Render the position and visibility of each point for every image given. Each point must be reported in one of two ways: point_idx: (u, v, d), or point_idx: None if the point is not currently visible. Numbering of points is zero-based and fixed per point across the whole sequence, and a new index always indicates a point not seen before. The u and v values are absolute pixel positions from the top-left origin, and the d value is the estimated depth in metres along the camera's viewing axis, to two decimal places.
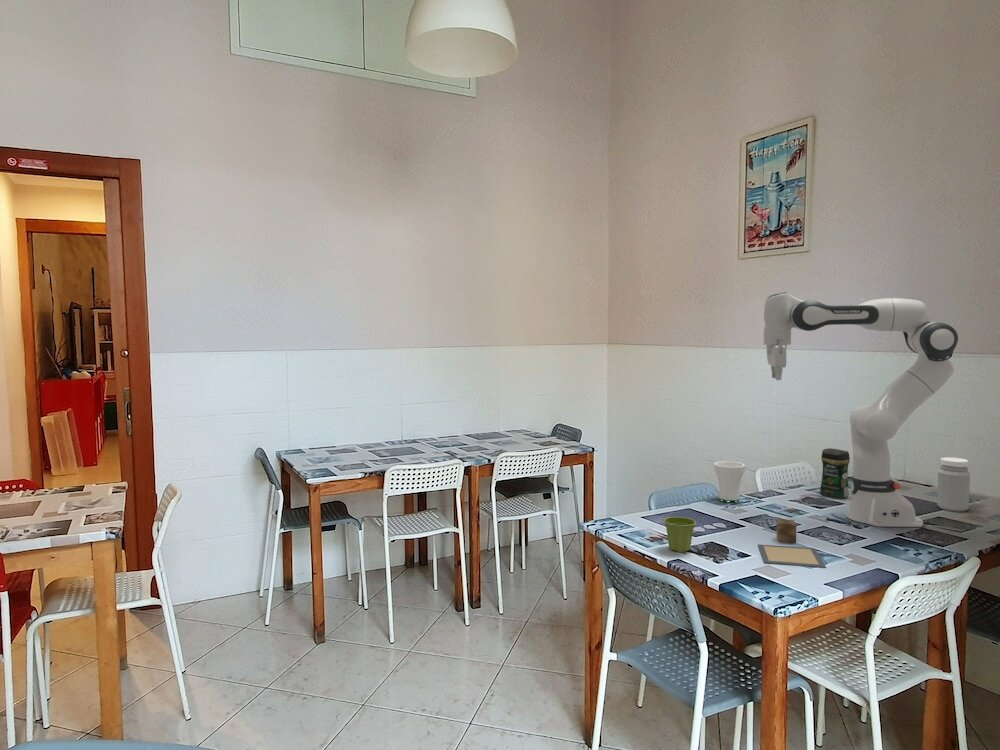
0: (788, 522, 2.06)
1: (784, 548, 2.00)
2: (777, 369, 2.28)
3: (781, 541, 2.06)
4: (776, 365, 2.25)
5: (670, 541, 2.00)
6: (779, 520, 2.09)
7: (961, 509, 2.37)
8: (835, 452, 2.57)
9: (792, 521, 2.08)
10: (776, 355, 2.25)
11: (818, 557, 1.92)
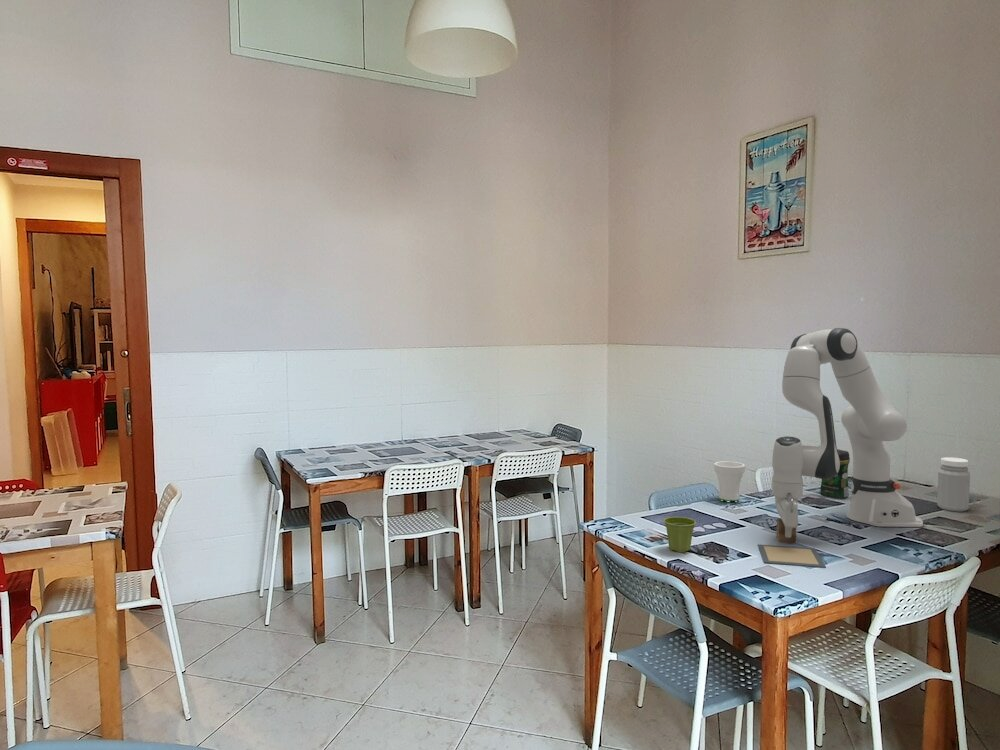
0: None
1: (784, 548, 2.00)
2: None
3: (781, 541, 2.06)
4: (786, 525, 1.99)
5: (670, 541, 2.00)
6: (779, 520, 2.09)
7: (961, 509, 2.37)
8: None
9: None
10: (786, 514, 1.98)
11: (818, 557, 1.92)
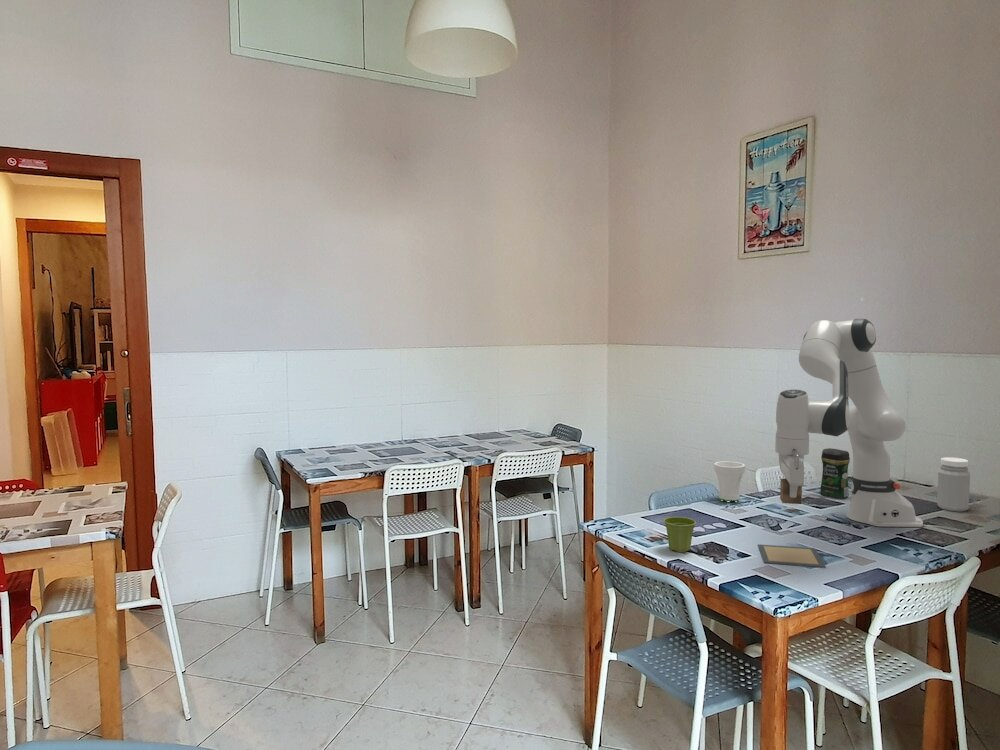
0: None
1: (784, 548, 2.00)
2: (791, 485, 1.88)
3: (785, 501, 1.91)
4: (791, 483, 1.83)
5: (670, 541, 2.00)
6: (783, 479, 1.94)
7: (961, 509, 2.37)
8: (835, 452, 2.57)
9: None
10: (791, 471, 1.83)
11: (818, 557, 1.92)
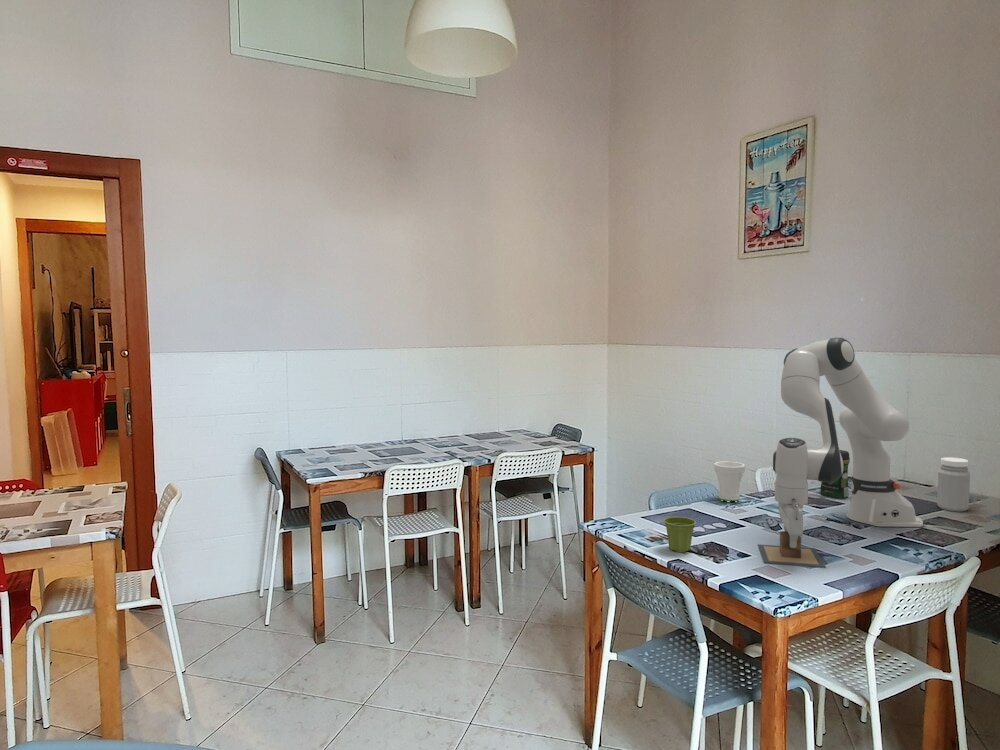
0: None
1: None
2: (791, 535, 1.88)
3: (785, 555, 1.92)
4: (791, 533, 1.84)
5: (670, 541, 2.00)
6: (782, 533, 1.95)
7: (961, 509, 2.37)
8: None
9: None
10: (791, 521, 1.84)
11: (818, 557, 1.92)
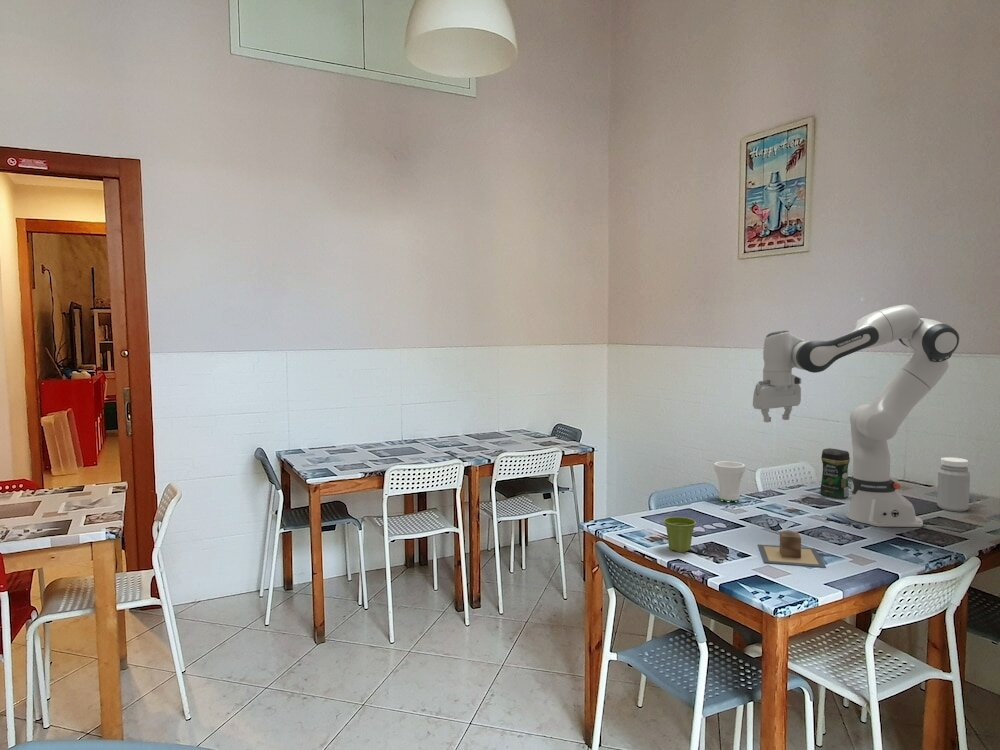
0: (792, 535, 1.92)
1: None
2: (762, 411, 2.21)
3: (785, 555, 1.92)
4: (753, 406, 2.20)
5: (670, 541, 2.00)
6: (782, 533, 1.95)
7: (961, 509, 2.37)
8: (835, 452, 2.57)
9: (796, 534, 1.94)
10: (753, 396, 2.20)
11: (818, 557, 1.92)
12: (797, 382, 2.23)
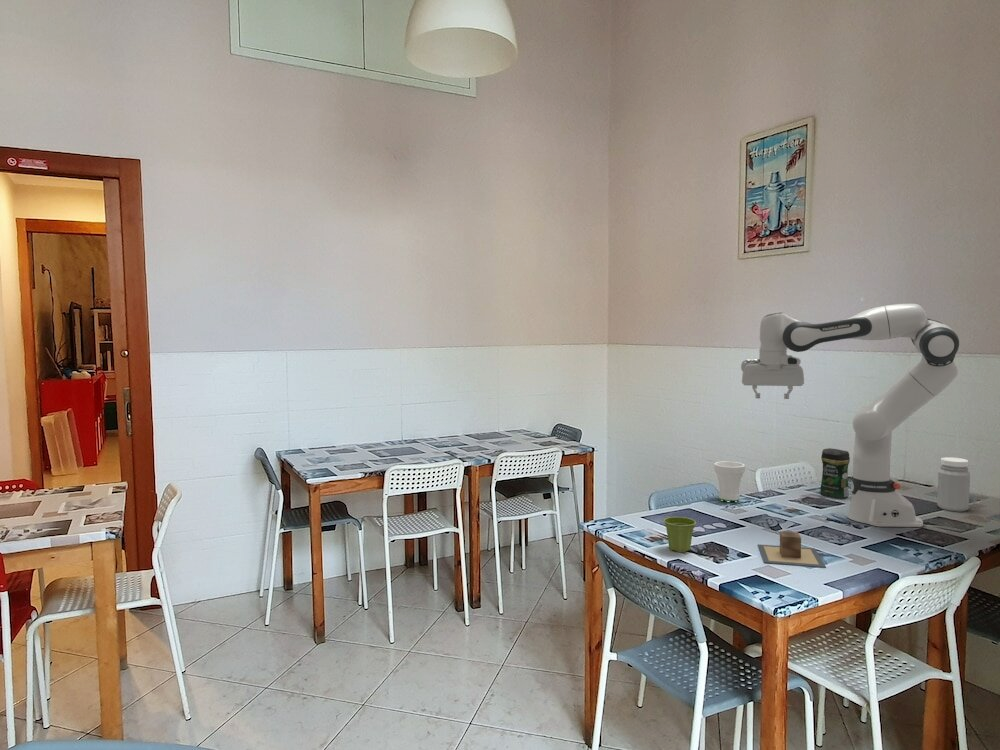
0: (792, 535, 1.92)
1: None
2: (752, 387, 2.37)
3: (785, 555, 1.92)
4: None
5: (670, 541, 2.00)
6: (782, 533, 1.95)
7: (961, 509, 2.37)
8: (835, 452, 2.57)
9: (796, 534, 1.94)
10: None
11: (818, 557, 1.92)
12: (793, 362, 2.30)
